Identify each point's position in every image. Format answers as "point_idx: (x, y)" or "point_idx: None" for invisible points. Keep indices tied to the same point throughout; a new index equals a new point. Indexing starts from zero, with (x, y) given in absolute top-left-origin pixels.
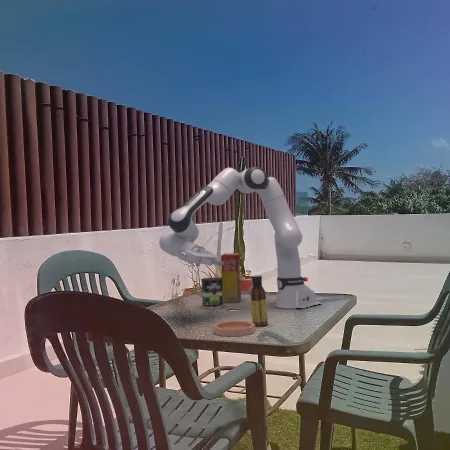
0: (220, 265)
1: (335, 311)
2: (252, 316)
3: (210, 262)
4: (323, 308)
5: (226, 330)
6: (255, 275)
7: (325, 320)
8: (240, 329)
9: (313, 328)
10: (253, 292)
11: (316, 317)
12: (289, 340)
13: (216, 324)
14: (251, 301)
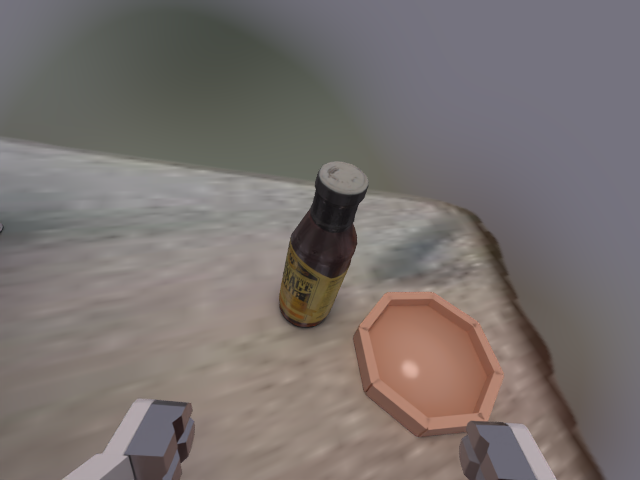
0: (192, 431)
1: (85, 155)
2: (326, 309)
3: (522, 433)
4: (15, 176)
5: (492, 355)
6: (327, 182)
7: (218, 174)
8: (466, 315)
9: (313, 191)
10: (356, 241)
11: (176, 189)
12: (434, 222)
13: (452, 423)
14: (341, 277)
